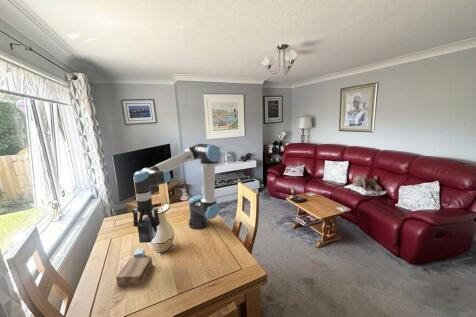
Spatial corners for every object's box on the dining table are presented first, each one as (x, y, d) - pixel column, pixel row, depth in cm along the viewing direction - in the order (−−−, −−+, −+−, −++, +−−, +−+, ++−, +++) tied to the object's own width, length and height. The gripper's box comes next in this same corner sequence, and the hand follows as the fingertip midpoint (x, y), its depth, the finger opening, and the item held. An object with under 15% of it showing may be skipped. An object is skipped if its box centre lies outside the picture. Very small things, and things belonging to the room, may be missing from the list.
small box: (146, 232, 119) (144, 216, 117) (157, 232, 119) (155, 215, 117) (138, 243, 108) (136, 225, 106) (150, 242, 109) (149, 224, 107)
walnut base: (152, 264, 115) (151, 257, 114) (141, 284, 101) (139, 276, 100) (131, 265, 115) (130, 258, 114) (117, 285, 101) (116, 277, 100)
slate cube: (145, 255, 124) (144, 248, 123) (143, 260, 119) (142, 253, 118) (136, 256, 123) (135, 249, 122) (134, 262, 118) (133, 254, 117)
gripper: (164, 196, 113) (167, 232, 117) (130, 196, 113) (134, 233, 117) (159, 201, 106) (163, 240, 110) (122, 202, 106) (127, 241, 110)
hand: (148, 236), depth 114 cm, fingers closed on small box, 6 cm apart
